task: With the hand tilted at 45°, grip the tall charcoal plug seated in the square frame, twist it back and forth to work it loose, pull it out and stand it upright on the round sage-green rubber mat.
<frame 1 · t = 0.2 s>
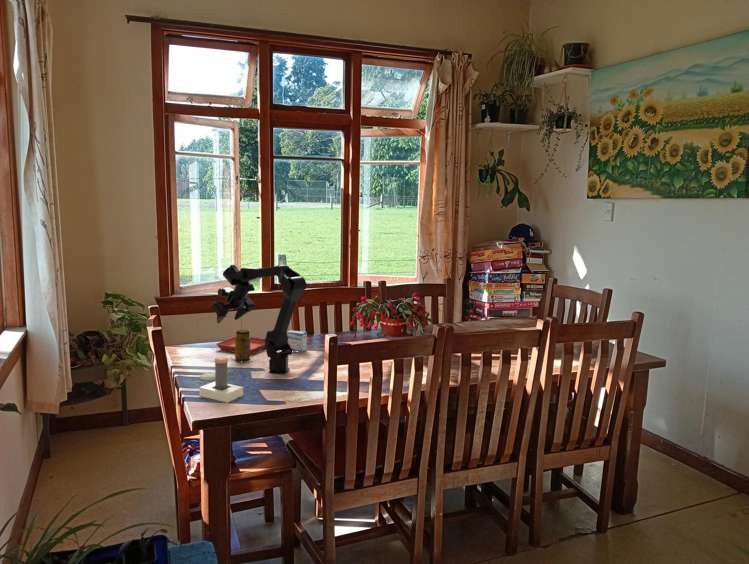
hand: (226, 321, 246), 15 cm above the table, tool tilted 35°, fingers open, 9 cm apart
square frame: (221, 395, 201), on the table
plug: (221, 377, 200), in the square frame
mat: (210, 377, 220), on the table
plant saucer: (244, 349, 261), on the table
medicine box: (296, 351, 260), on the table
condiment: (243, 360, 244), on the table
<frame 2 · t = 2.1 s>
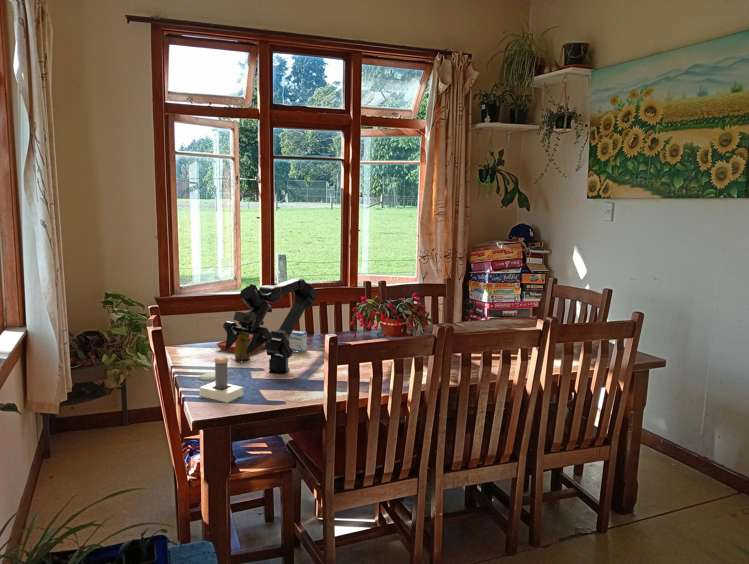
hand: (236, 351, 206), 14 cm above the table, tool tilted 45°, fingers open, 9 cm apart
nothing on the table moved.
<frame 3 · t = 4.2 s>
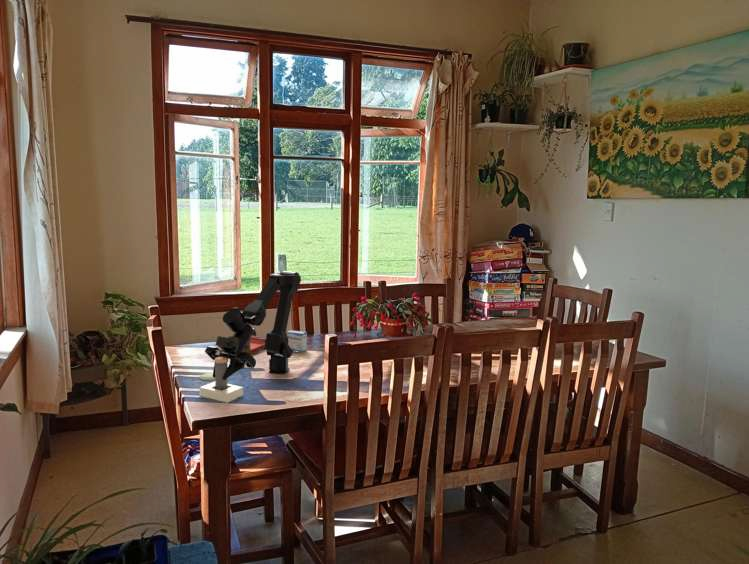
hand: (218, 378, 199), 7 cm above the table, tool tilted 45°, fingers closed on plug, 4 cm apart
plug: (221, 377, 200), in the square frame, touching gripper
everything else where it was.
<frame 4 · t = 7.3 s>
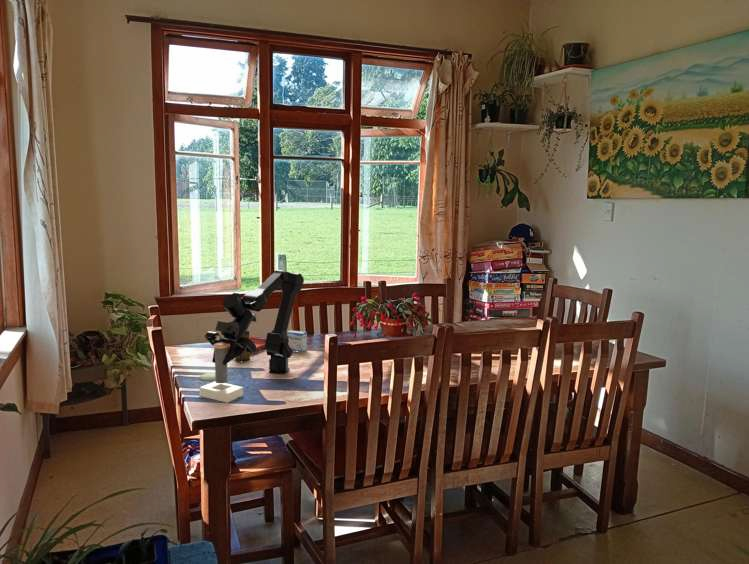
hand: (218, 363, 198), 12 cm above the table, tool tilted 45°, fingers closed on plug, 4 cm apart
plug: (221, 363, 199), point 12 cm above the table, touching gripper
everything else where it was.
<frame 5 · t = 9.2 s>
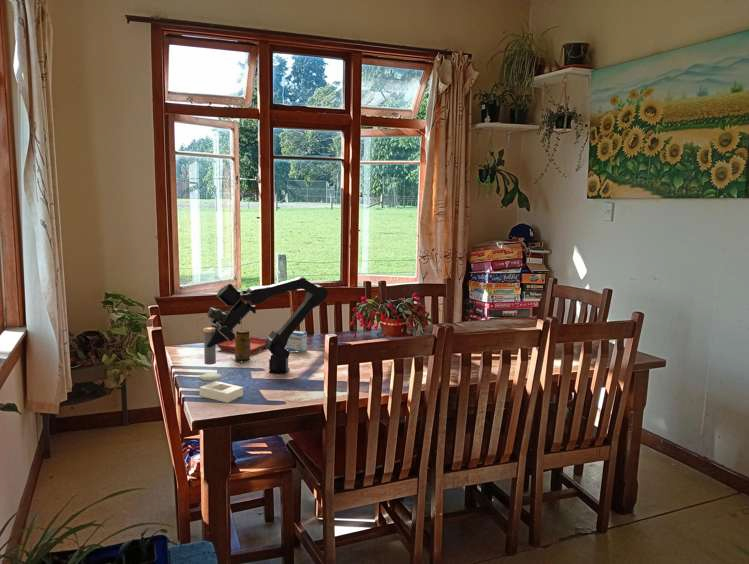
hand: (206, 345, 217), 12 cm above the table, tool tilted 45°, fingers closed on plug, 4 cm apart
plug: (209, 345, 217), point 12 cm above the table, touching gripper
everything else where it was.
when the fingers open (8 cm above the table, at t = 10.6 s): plug drops 1 cm, resting on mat.
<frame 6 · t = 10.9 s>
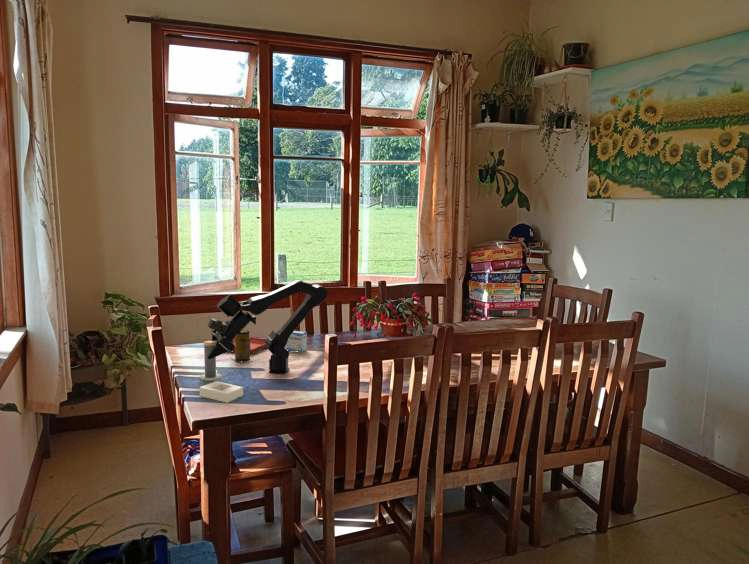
hand: (206, 355, 218), 8 cm above the table, tool tilted 45°, fingers open, 7 cm apart
plug: (210, 359, 219), on the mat
everything else where it was.
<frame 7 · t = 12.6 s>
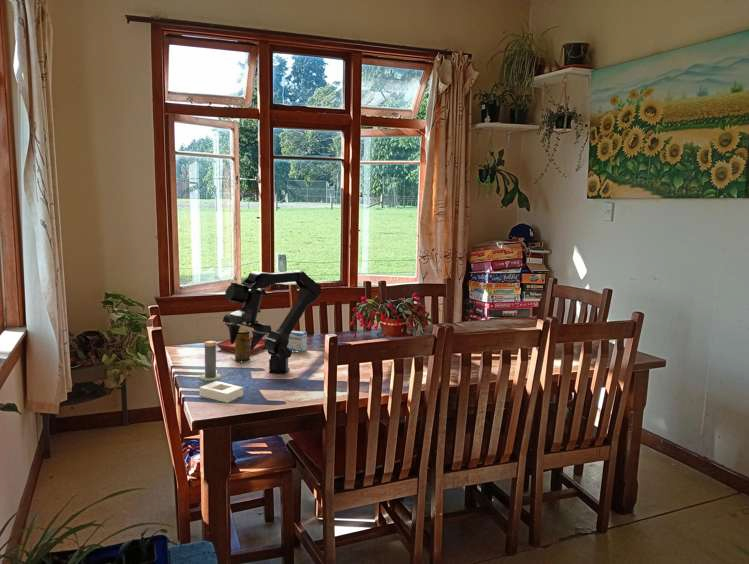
hand: (241, 346, 217), 12 cm above the table, tool tilted 15°, fingers open, 9 cm apart
nothing on the table moved.
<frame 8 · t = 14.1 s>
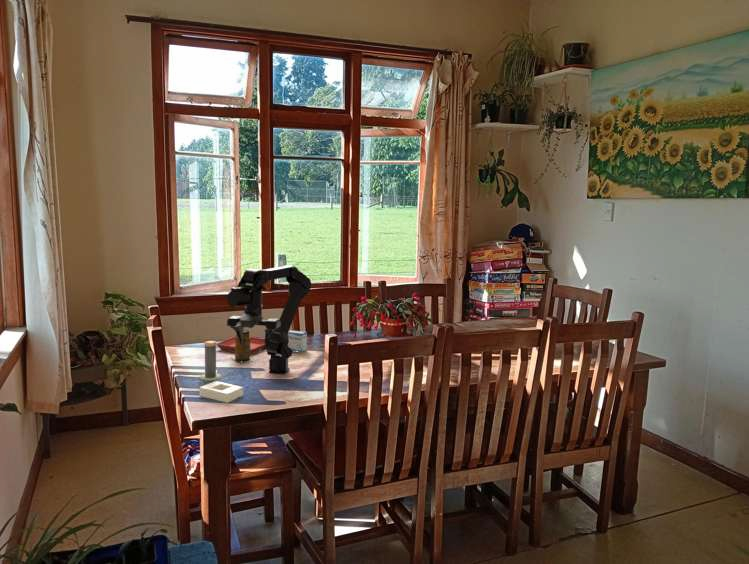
hand: (253, 345, 217), 13 cm above the table, tool pointing down, fingers open, 9 cm apart
nothing on the table moved.
at the end: plug 0.1 cm off-centre on the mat, point 6.9 cm above the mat's base; plug tilted 0°; plug touching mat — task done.
